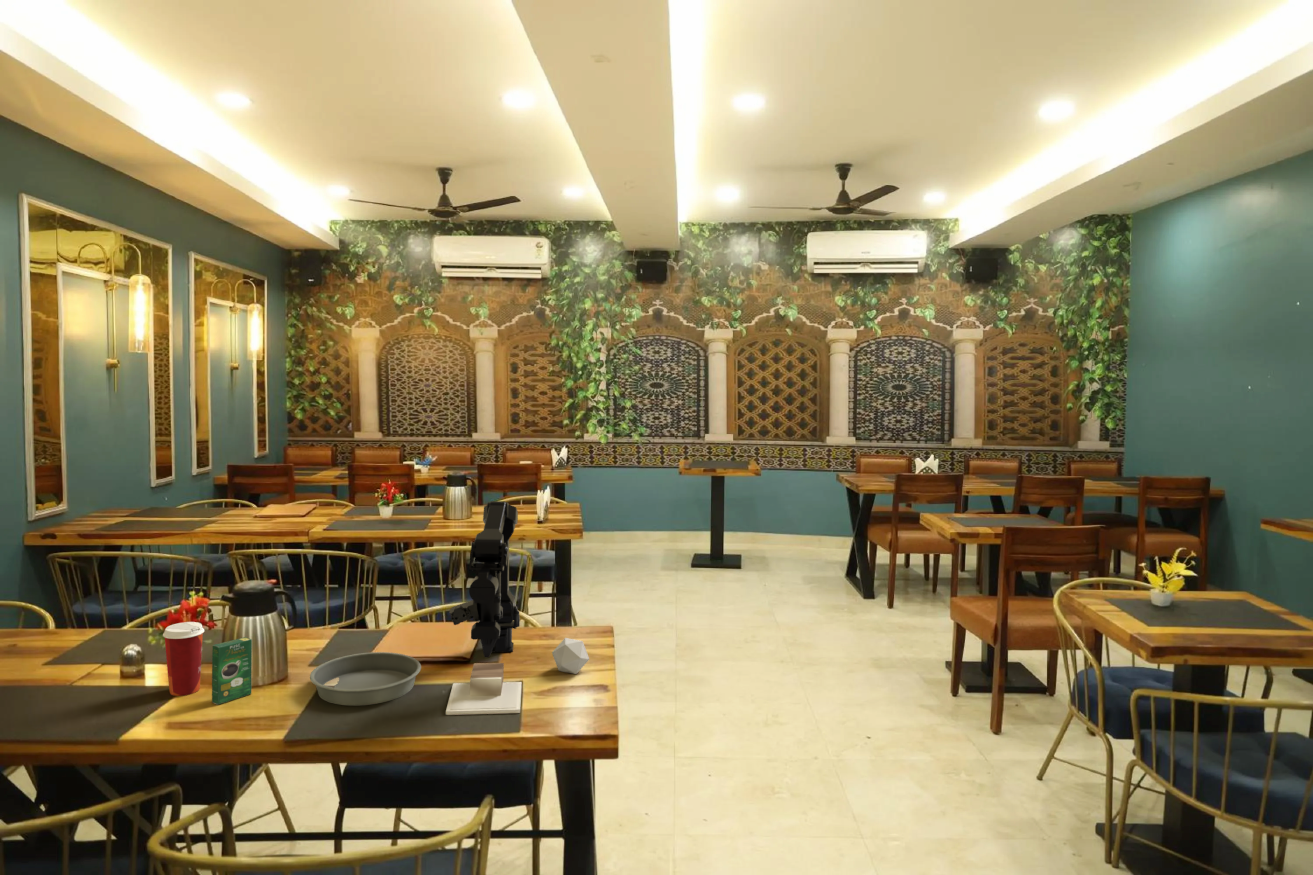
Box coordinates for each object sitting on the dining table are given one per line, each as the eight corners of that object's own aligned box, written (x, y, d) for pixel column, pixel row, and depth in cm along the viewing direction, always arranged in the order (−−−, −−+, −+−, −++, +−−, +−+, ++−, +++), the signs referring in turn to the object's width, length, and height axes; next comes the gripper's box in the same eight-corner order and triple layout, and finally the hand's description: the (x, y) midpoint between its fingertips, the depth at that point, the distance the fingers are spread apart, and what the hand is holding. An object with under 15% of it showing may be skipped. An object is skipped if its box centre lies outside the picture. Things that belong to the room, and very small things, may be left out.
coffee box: (245, 691, 192) (245, 635, 191) (253, 694, 190) (252, 637, 189) (211, 702, 185) (210, 644, 184) (218, 705, 183) (217, 647, 182)
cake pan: (371, 662, 213) (371, 644, 213) (442, 682, 201) (443, 664, 201) (286, 693, 192) (286, 674, 192) (360, 718, 180) (360, 698, 179)
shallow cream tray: (453, 686, 198) (453, 682, 198) (521, 685, 201) (521, 681, 200) (445, 714, 182) (445, 710, 182) (519, 712, 185) (520, 708, 185)
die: (594, 671, 213) (582, 635, 217) (589, 665, 205) (577, 628, 209) (563, 682, 212) (553, 646, 216) (557, 677, 205) (546, 640, 209)
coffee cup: (213, 687, 193) (212, 623, 192) (183, 700, 186) (181, 634, 184) (186, 681, 196) (185, 619, 195) (154, 694, 188) (153, 629, 187)
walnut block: (474, 663, 200) (470, 678, 190) (503, 662, 201) (501, 678, 191) (473, 679, 201) (469, 695, 191) (503, 678, 202) (500, 695, 192)
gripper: (456, 581, 201) (455, 644, 203) (448, 603, 183) (447, 672, 184) (503, 580, 203) (502, 643, 204) (499, 602, 185) (498, 671, 186)
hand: (487, 656), depth 195 cm, fingers closed
